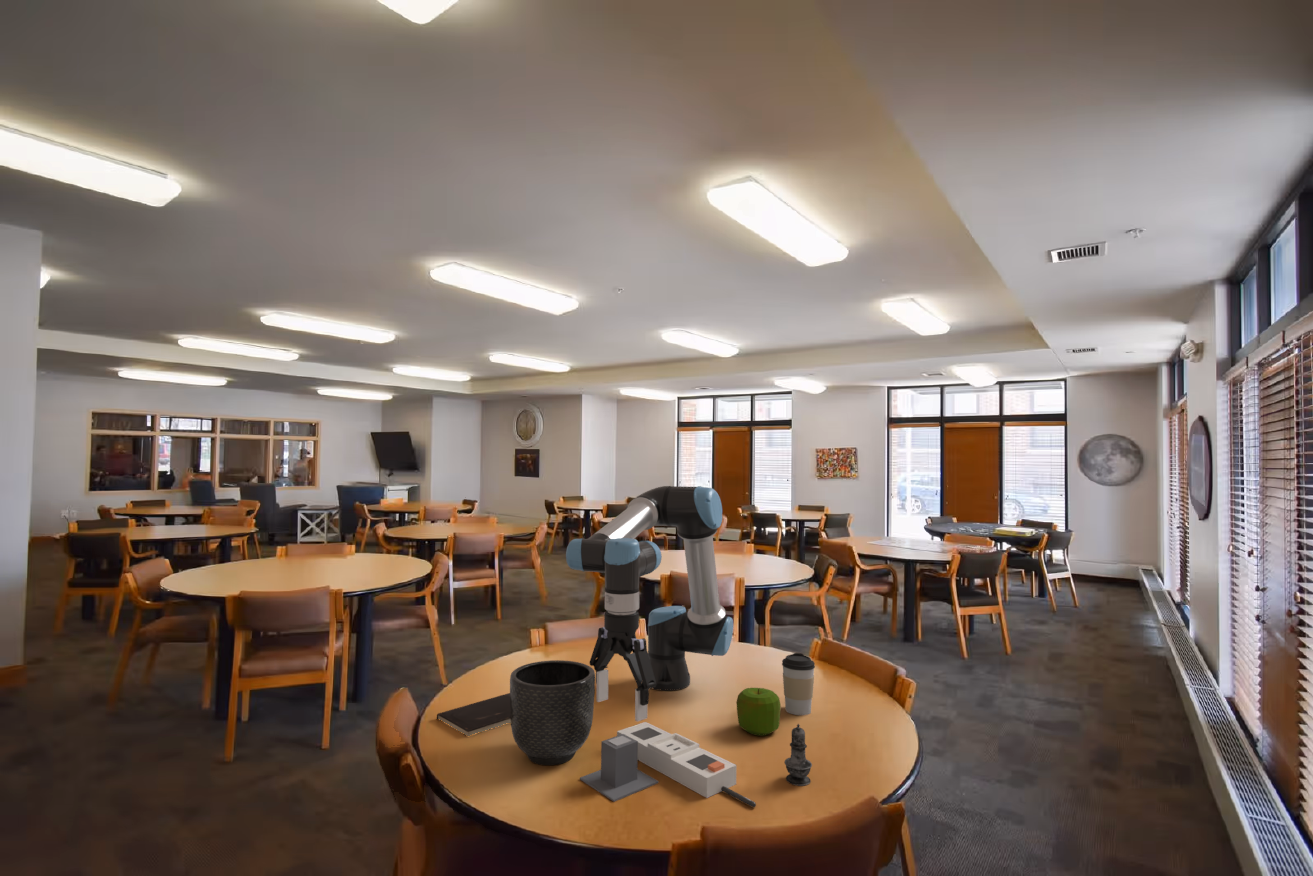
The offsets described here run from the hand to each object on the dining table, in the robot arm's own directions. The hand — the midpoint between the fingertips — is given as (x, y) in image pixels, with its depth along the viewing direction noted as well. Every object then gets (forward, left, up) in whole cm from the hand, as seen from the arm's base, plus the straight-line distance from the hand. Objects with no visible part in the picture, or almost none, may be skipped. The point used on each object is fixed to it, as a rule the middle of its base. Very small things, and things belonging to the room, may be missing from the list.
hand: (621, 709), depth 138 cm
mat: (0, 0, -15) cm, 15 cm away
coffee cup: (+1, +63, -15) cm, 65 cm away
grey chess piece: (+25, +30, -15) cm, 42 cm away
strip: (+7, +14, -15) cm, 21 cm away
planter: (-20, -5, -15) cm, 25 cm away
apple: (+2, +44, -15) cm, 46 cm away
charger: (0, 0, -15) cm, 15 cm away
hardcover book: (-50, -5, -16) cm, 53 cm away
